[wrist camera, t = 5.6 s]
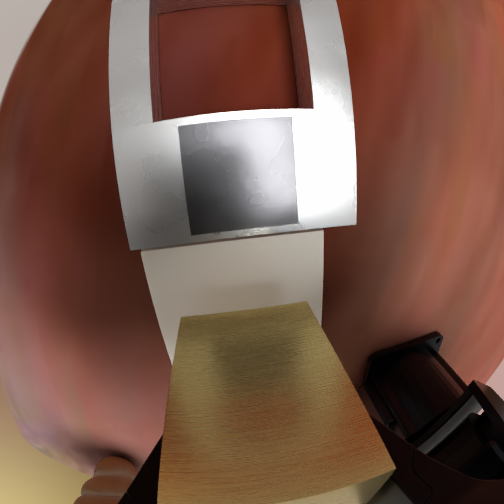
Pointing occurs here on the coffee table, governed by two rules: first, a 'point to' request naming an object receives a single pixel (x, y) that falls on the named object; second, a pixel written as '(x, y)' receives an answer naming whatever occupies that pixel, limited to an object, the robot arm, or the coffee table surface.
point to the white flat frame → (231, 138)
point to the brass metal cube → (265, 415)
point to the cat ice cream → (108, 482)
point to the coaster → (234, 276)
